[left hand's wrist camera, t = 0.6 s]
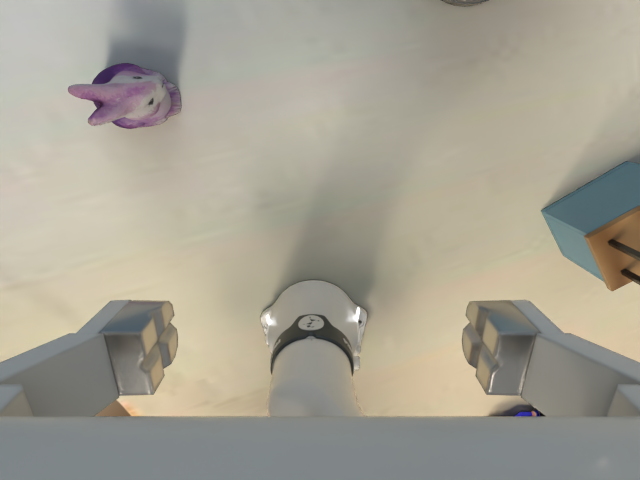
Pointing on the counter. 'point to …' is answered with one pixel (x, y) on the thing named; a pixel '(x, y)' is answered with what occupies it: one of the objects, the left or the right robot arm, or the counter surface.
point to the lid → (617, 249)
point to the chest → (592, 211)
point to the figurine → (129, 97)
